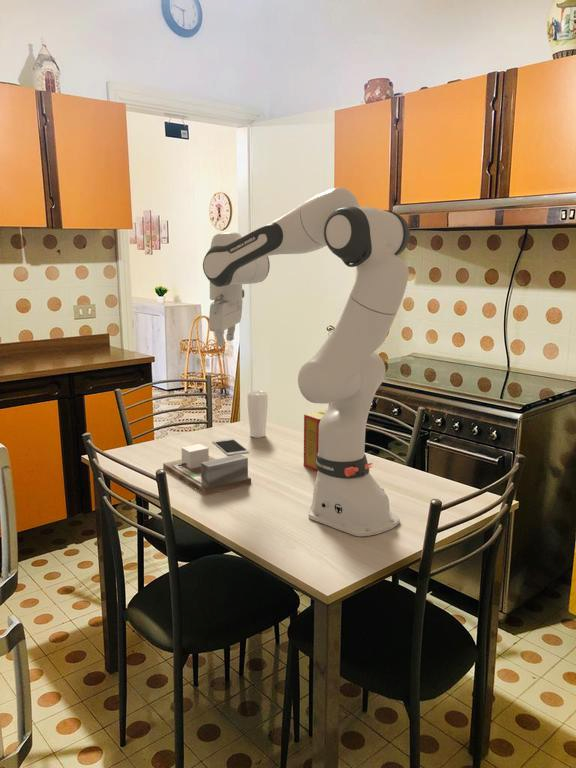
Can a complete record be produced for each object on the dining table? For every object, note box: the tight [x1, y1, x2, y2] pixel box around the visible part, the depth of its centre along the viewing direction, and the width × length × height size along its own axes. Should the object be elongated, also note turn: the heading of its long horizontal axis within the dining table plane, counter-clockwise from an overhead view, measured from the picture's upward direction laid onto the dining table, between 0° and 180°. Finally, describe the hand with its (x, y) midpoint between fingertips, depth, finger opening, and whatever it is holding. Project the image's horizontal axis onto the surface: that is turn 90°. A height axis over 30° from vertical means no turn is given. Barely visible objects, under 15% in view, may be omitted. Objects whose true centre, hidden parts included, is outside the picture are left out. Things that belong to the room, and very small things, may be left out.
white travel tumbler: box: [247, 390, 269, 439], centre depth 213 cm, size 7×7×15 cm
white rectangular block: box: [178, 443, 210, 469], centre depth 180 cm, size 5×8×5 cm, turn 127°
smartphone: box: [212, 437, 250, 457], centre depth 202 cm, size 7×16×1 cm, turn 25°
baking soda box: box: [303, 409, 327, 473], centre depth 184 cm, size 10×6×16 cm
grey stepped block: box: [162, 454, 252, 496], centre depth 176 cm, size 25×14×8 cm, turn 36°
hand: (225, 343), depth 176 cm, fingers open, 8 cm apart
